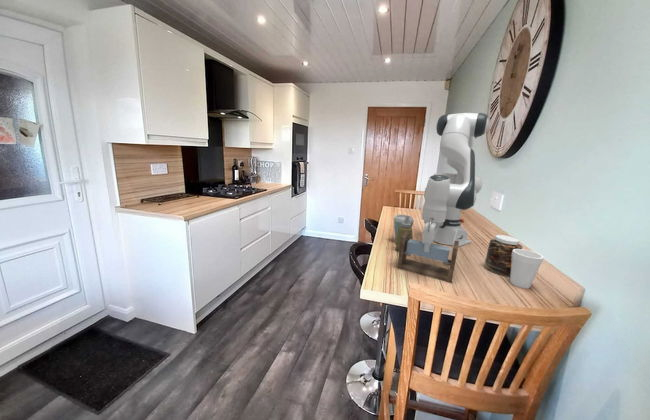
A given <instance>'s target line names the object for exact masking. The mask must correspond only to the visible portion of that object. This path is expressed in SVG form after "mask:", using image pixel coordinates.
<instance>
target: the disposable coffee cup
mask: <svg viewBox="0 0 650 420" xmlns="http://www.w3.org/2000/svg"><path fill="white" fill-rule="evenodd" d="M406 216H408V217H409V223H410V224H411V228H412V229H413V225H414V222H415V220H414V218H413V217H412V216H409V215H407V214H396V215H394V217H393V224H394V225H393V228H394V241H395V242H396V238H397V234H398V230H399V227H401V223H403V222H404V221H405V218H406Z"/></svg>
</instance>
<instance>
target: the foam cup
mask: <svg viewBox="0 0 650 420" xmlns="http://www.w3.org/2000/svg"><path fill="white" fill-rule="evenodd" d="M511 256H512V261H511V275H510V276H509V282H510V283H511V284H512V285H513V286H516V287H518V288H522V289H530V288H531V286H532V284H533V281H534V279H535V278H536V275H537V274H538V271H539V269H540V267H541V266H542V264H543V260H544V255H542V254H541V253H538V252H536V251H531V250H528V249H523V248H522V249H513V251H512V255H511Z"/></svg>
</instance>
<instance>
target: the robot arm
mask: <svg viewBox="0 0 650 420" xmlns="http://www.w3.org/2000/svg"><path fill="white" fill-rule="evenodd" d="M489 124H490V120H489V116H488V115H487V114H486V113H483V112H479V113H475V112H463V113H462V112H461V113H451V114H450V113H446V114H443V115H441V116H440V117H439V118H438V120H437V122H436V125H435V129H436V133H437V135H439V136H440V137H441V138H440V141H439V150H440V153H441V155H443V157H445V158H446V163H447V165H448V166H449V167H450V168H452V169H454V170H455V171H456V172H457V173H449V172H439V173H437V172H435V173H434V174H433V175H431V176H429V177H428V180H427V184H426V187H425V188H424V195H423V198H424V204H423V206H422V212H421V220H423V223H424V228H423V233H422V240H421V242H422V243H425V248H424V251H425V252H429V250H430V245H431V244H434V242H435V243H438V244H441V245H445V246H446V245H447V246H451V247H452V246H454V241H458V242H459V245H458V248H459V247H462V246H465V245H469V244H471V243H472V241H471V239H468V232H467V230H466V229H465V228H464V227H463V226H462V224H464V223H465V221H466V220H465V219H462V218H461V214H462V213H461V212H462V211H466V210H469V209H471V208H472V207H474V206H475V203H476V201H477V194H478V193H480V191H481V190H482V188H483V187H482V186H483V183H482V180H481V178H480V177H479V176H477V175H476V155H475V151H474V150H473V144H474V138H475V139H477V138H479V137H482V136H483V135H485V134H486V132H487V130H488V128H489Z"/></svg>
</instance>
